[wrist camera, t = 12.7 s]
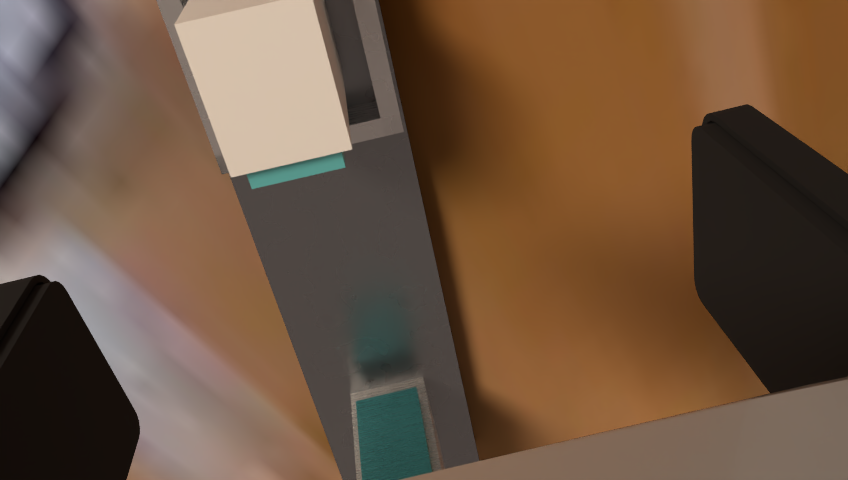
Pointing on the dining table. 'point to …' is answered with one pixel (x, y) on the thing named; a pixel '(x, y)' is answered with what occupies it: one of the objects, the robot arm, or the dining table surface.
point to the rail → (361, 274)
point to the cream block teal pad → (269, 85)
